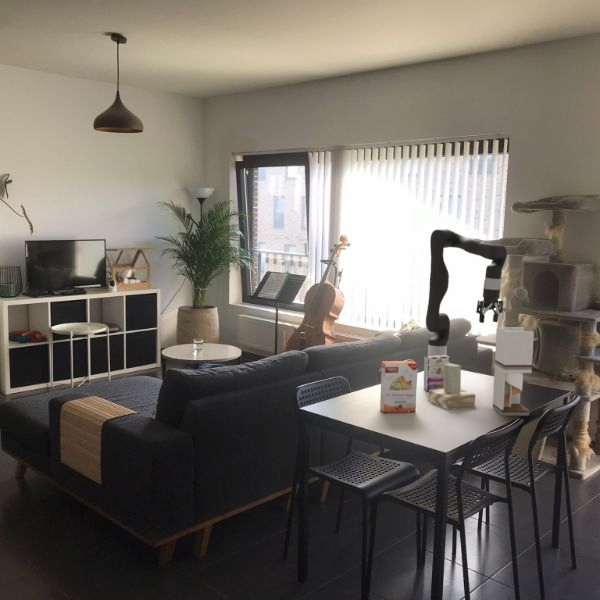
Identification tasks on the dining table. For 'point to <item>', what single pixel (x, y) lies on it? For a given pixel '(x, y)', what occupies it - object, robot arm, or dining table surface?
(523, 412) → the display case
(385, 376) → the cracker box
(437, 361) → the candy bar box
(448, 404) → the birch plinth
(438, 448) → the dining table surface
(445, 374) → the skincare box
